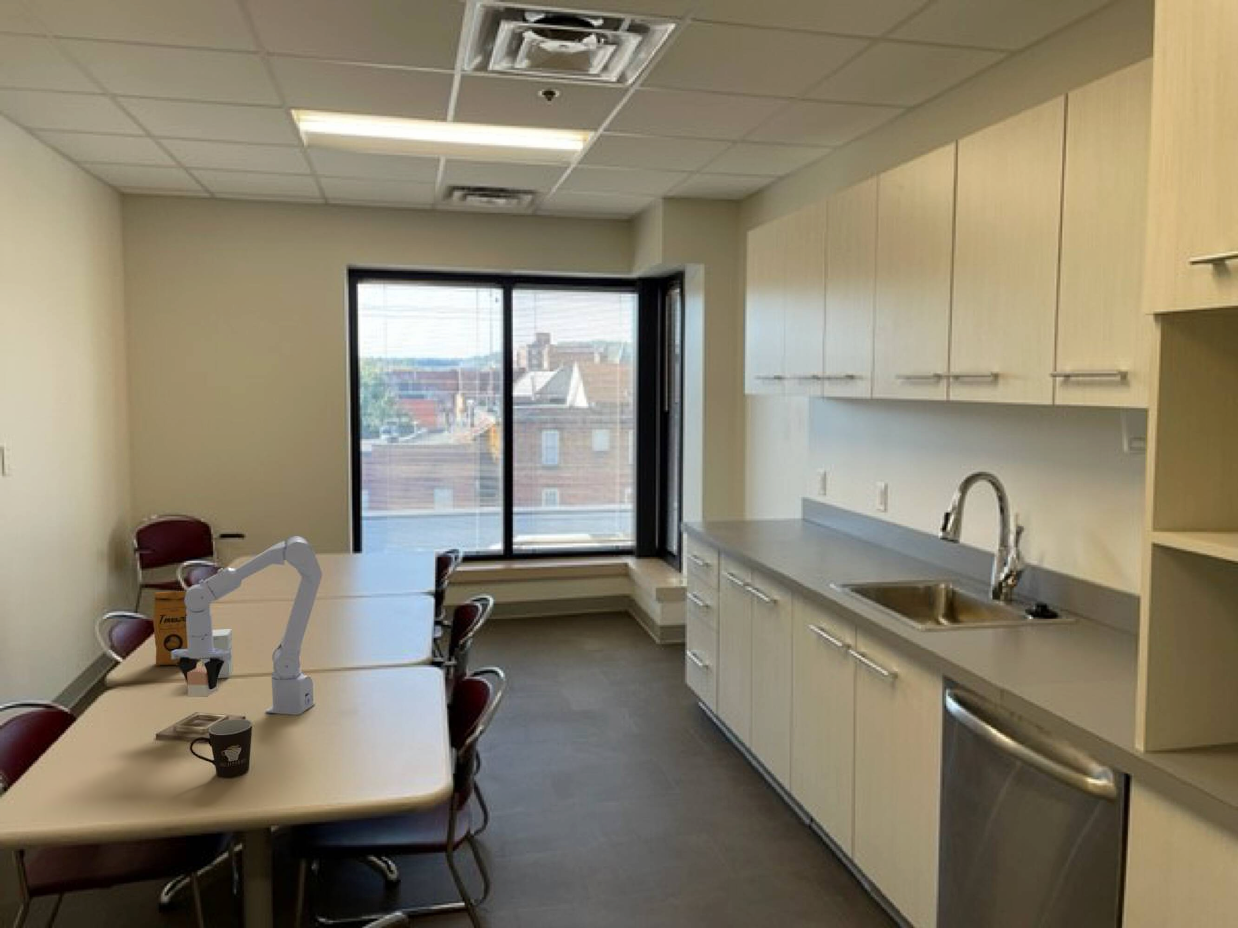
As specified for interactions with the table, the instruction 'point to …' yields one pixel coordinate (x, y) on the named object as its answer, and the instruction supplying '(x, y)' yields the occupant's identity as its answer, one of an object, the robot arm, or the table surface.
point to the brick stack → (199, 683)
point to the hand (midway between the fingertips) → (202, 687)
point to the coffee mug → (229, 747)
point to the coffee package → (169, 625)
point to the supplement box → (223, 642)
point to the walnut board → (194, 726)
